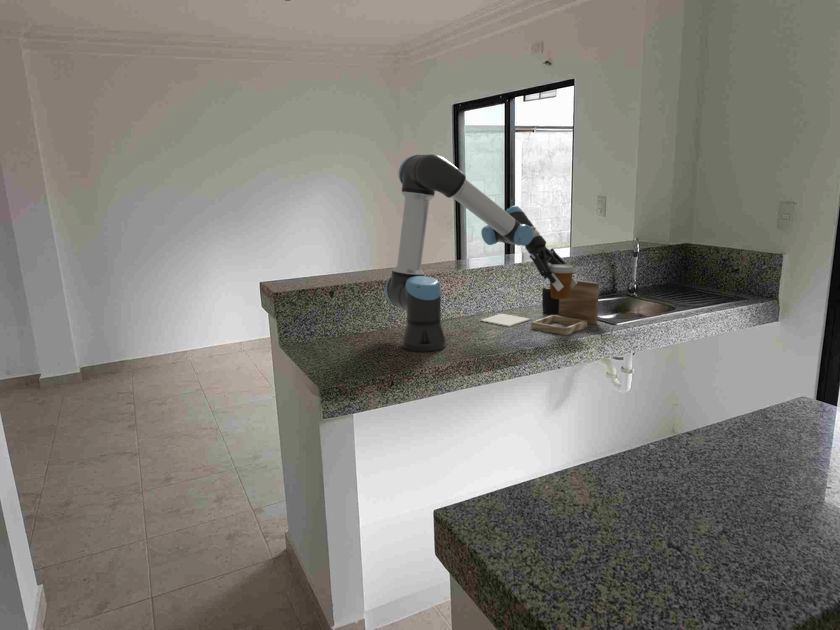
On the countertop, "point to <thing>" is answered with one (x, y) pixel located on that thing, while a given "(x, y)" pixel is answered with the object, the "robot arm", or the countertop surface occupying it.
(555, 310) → the pen holder
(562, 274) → the disposable coffee cup
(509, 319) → the mat
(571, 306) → the brown wooden l-shaped tray
